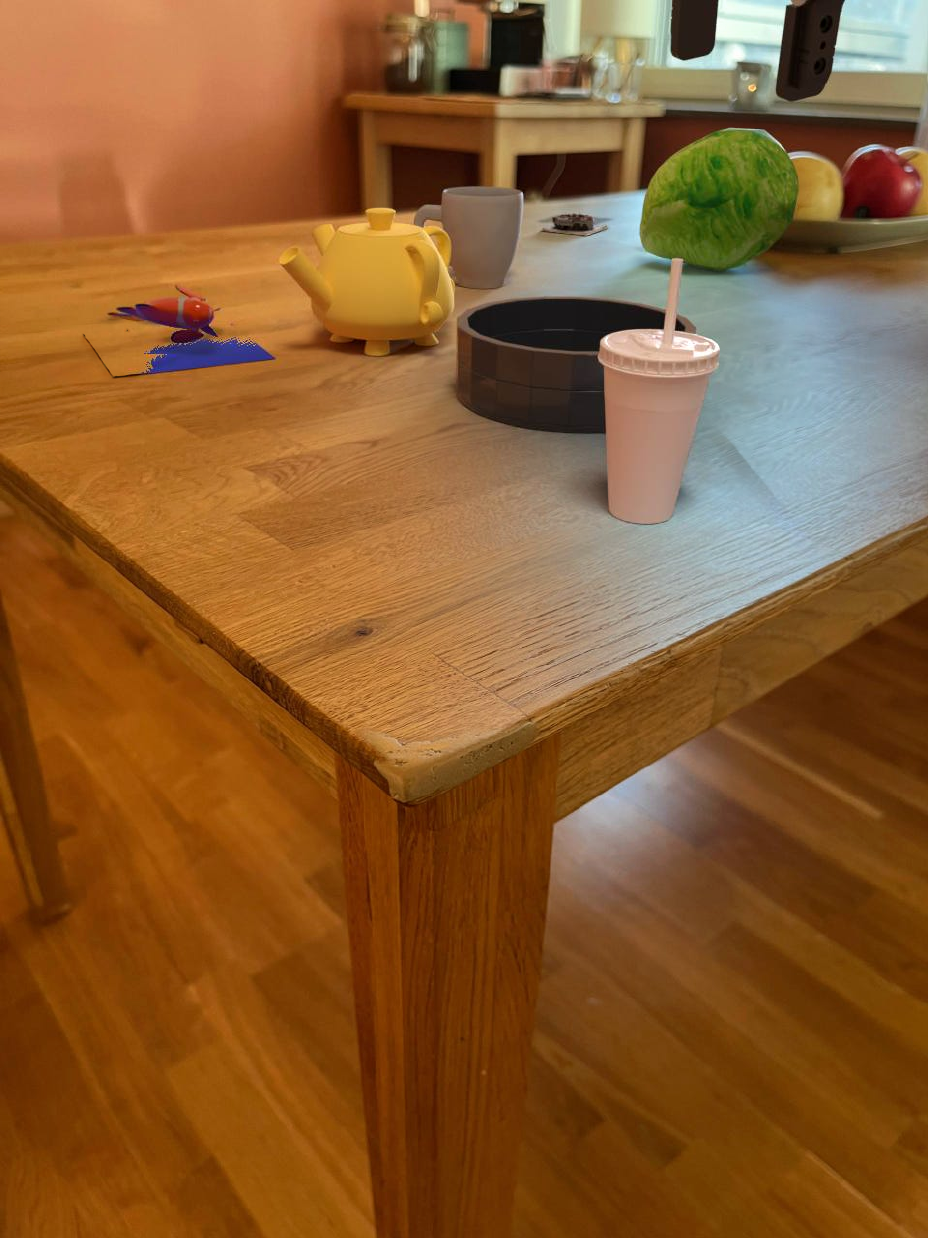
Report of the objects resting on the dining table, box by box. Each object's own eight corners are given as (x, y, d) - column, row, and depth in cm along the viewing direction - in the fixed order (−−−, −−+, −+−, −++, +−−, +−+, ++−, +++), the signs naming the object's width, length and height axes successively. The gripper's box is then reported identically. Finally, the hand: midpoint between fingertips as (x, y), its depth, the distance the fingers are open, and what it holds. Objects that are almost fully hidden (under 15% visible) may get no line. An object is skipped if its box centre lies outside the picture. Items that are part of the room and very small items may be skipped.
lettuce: (705, 245, 133) (634, 145, 125) (843, 180, 118) (771, 62, 110) (665, 330, 126) (586, 230, 118) (805, 274, 110) (725, 154, 103)
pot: (658, 362, 84) (665, 296, 81) (712, 432, 69) (724, 354, 66) (452, 362, 83) (453, 295, 80) (461, 433, 68) (462, 354, 65)
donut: (562, 223, 150) (563, 208, 148) (610, 228, 146) (611, 213, 145) (538, 230, 143) (538, 215, 142) (586, 235, 140) (587, 220, 139)
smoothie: (640, 544, 53) (671, 275, 46) (562, 504, 58) (580, 253, 50) (720, 516, 56) (760, 261, 49) (640, 481, 61) (667, 242, 54)
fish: (234, 291, 81) (127, 300, 77) (239, 349, 83) (136, 360, 80) (195, 264, 91) (98, 271, 87) (201, 316, 93) (107, 325, 90)
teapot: (320, 318, 96) (312, 194, 90) (459, 323, 95) (461, 198, 89) (284, 360, 83) (272, 219, 78) (444, 366, 82) (444, 224, 77)
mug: (521, 276, 114) (524, 187, 110) (518, 293, 107) (522, 197, 102) (418, 273, 115) (418, 184, 110) (409, 289, 108) (407, 194, 103)
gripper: (1027, -446, 32) (910, 95, 43) (759, -402, 42) (721, 31, 53) (838, -429, 30) (768, 132, 41) (604, -387, 40) (599, 58, 51)
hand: (741, 75), depth 47 cm, fingers open, 8 cm apart
